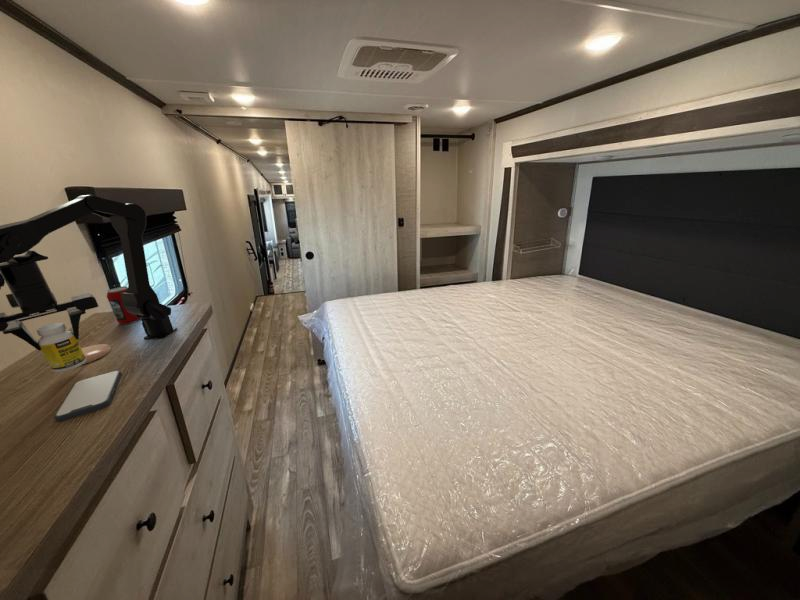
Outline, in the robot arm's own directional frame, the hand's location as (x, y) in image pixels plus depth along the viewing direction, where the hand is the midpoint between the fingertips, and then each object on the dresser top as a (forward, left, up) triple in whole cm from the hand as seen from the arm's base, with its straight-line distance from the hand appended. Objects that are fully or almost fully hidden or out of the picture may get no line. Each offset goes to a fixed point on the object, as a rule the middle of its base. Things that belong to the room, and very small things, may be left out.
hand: (59, 344), depth 77 cm
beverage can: (+13, -33, -9) cm, 37 cm away
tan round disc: (+6, -9, -9) cm, 14 cm away
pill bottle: (0, 0, -6) cm, 6 cm away
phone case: (-13, +9, -9) cm, 18 cm away
